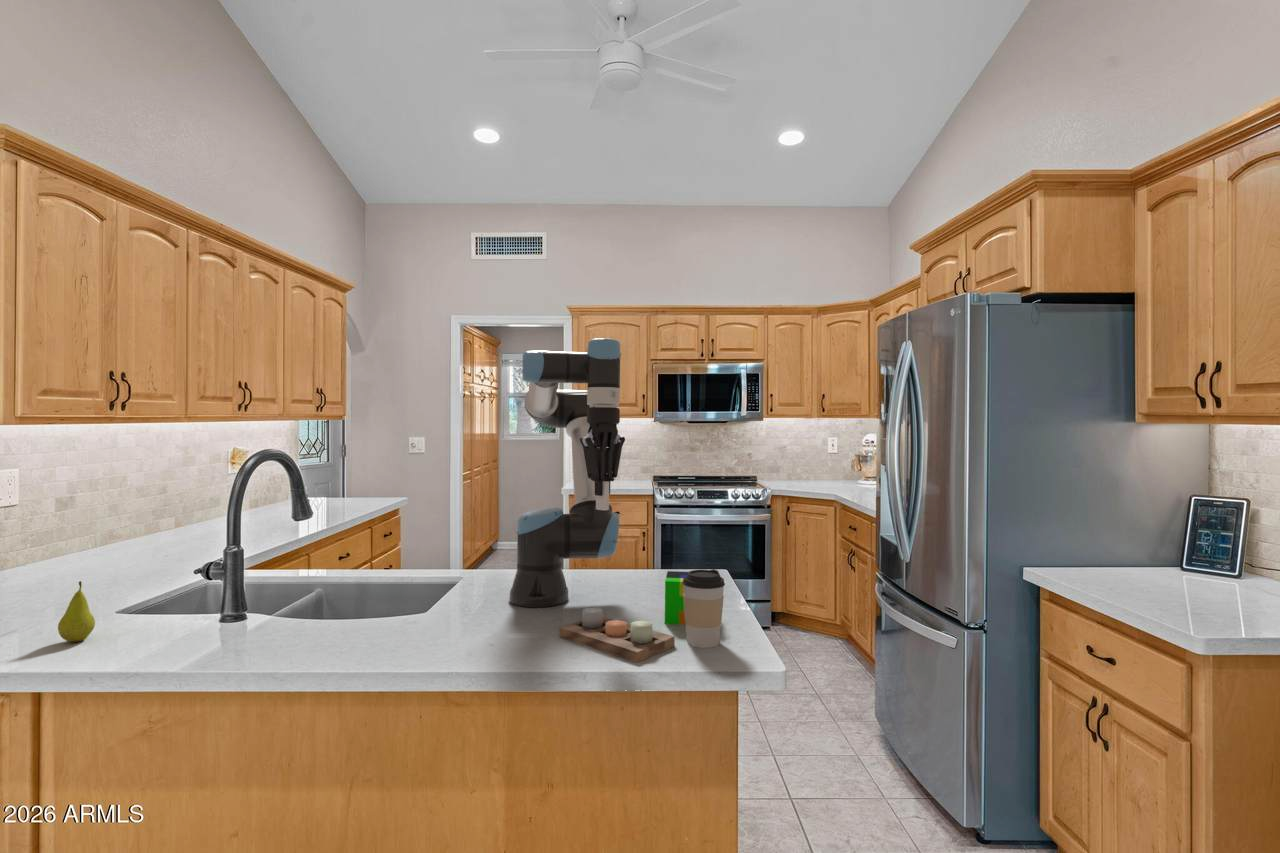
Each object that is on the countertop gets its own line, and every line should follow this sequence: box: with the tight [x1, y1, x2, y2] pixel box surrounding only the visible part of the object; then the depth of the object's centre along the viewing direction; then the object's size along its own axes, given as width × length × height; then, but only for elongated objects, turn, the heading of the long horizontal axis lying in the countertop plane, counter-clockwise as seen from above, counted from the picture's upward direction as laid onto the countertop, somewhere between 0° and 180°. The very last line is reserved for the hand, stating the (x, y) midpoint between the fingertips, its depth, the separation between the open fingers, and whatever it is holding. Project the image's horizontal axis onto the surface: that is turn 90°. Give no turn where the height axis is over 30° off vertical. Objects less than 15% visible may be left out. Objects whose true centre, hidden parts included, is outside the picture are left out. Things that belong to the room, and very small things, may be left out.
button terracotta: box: [605, 619, 628, 638], centre depth 133 cm, size 4×4×3 cm
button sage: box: [630, 620, 654, 646], centre depth 129 cm, size 4×4×3 cm
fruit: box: [57, 580, 96, 643], centre depth 129 cm, size 6×6×12 cm
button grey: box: [581, 607, 604, 630], centre depth 138 cm, size 4×4×3 cm
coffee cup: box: [682, 568, 726, 649], centre depth 133 cm, size 9×9×15 cm
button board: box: [559, 615, 676, 663], centre depth 133 cm, size 22×12×2 cm, turn 50°
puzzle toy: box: [664, 570, 689, 626], centre depth 149 cm, size 10×10×10 cm
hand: (602, 509), depth 144 cm, fingers closed
